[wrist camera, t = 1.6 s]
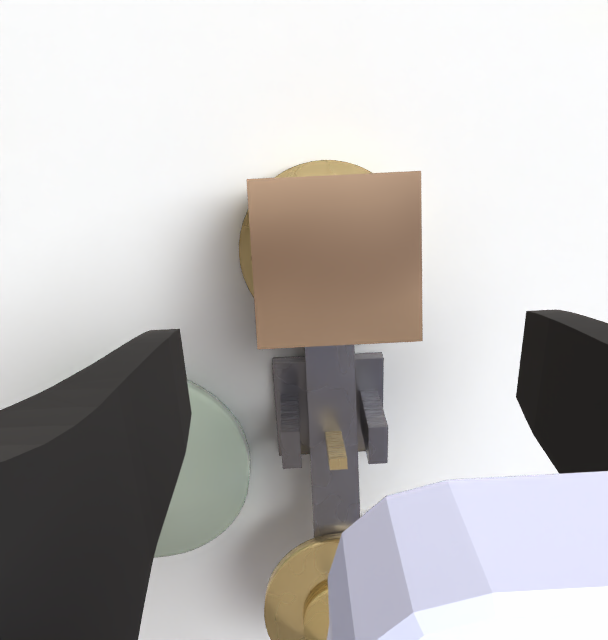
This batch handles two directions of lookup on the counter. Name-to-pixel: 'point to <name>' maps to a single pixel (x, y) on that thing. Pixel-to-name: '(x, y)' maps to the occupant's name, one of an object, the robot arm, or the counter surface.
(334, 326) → the walnut block
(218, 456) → the dish
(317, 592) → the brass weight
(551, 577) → the robot arm
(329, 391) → the balance beam
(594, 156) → the counter surface
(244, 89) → the counter surface
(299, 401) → the balance stand
